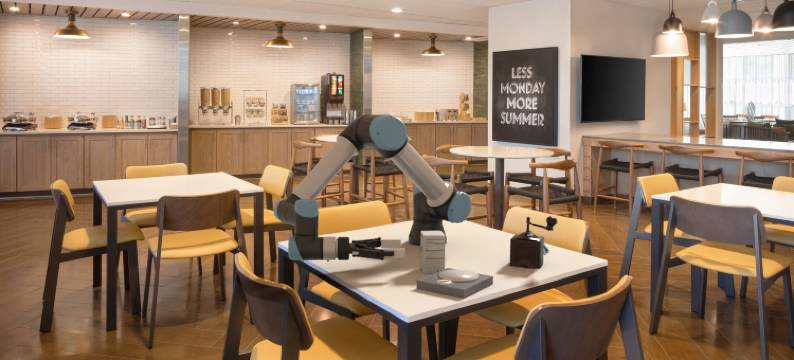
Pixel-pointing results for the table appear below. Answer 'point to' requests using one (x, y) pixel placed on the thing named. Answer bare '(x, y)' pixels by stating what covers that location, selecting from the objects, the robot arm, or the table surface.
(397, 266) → the table surface
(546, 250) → the blue toy animal
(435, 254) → the supplement box
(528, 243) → the manual coffee grinder
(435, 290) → the scale
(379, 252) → the robot arm
